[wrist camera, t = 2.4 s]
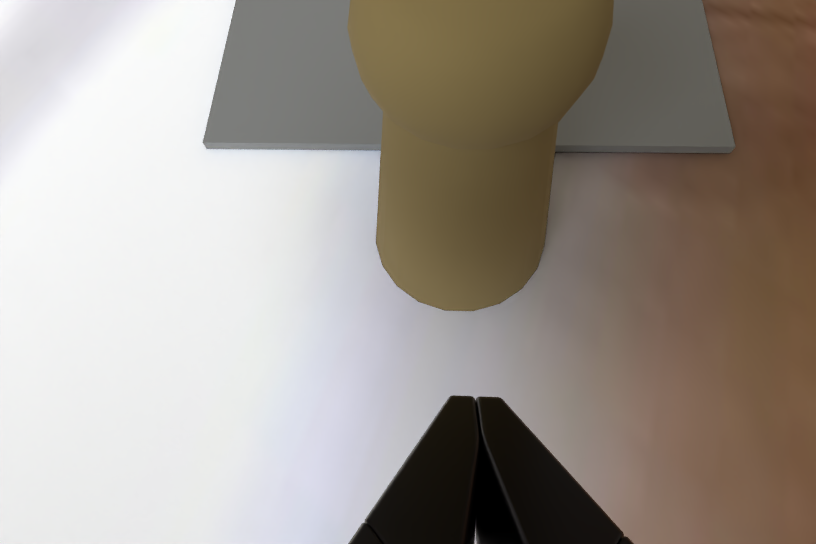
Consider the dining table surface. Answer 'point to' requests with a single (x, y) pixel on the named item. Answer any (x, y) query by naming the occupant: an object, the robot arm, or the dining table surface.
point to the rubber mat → (362, 118)
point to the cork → (470, 133)
